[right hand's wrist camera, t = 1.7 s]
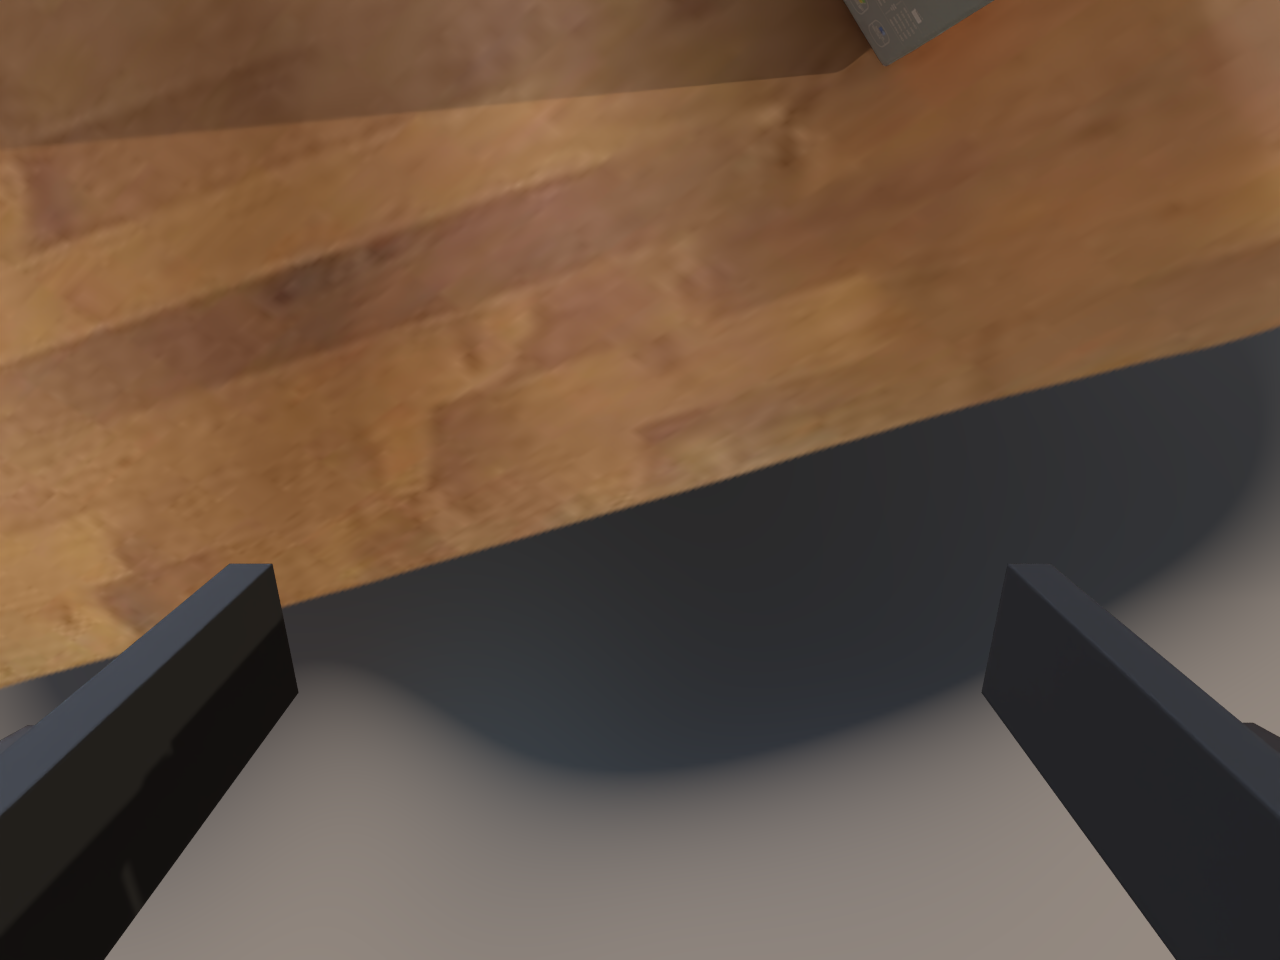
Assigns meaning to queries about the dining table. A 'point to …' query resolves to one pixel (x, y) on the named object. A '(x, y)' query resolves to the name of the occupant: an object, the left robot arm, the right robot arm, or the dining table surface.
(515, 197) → the dining table surface
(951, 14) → the hard drive box
